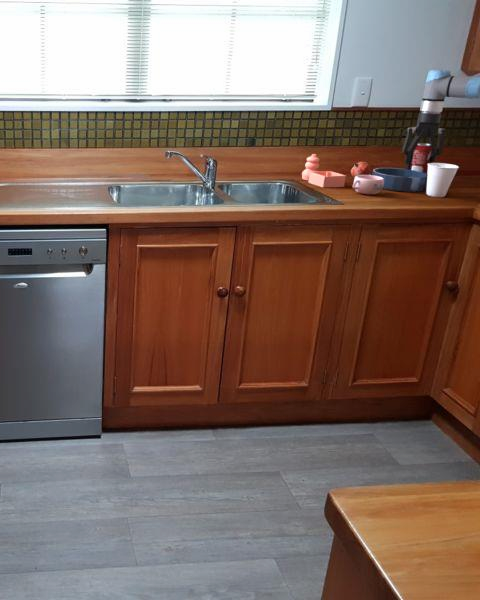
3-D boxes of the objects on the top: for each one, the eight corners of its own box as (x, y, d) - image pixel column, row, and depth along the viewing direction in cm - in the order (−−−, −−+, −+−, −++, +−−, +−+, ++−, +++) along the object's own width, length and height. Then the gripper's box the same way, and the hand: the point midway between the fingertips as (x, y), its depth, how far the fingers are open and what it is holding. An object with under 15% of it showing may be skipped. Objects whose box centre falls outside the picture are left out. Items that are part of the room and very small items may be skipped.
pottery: (343, 186, 232) (349, 160, 229) (322, 187, 230) (327, 161, 226) (315, 177, 248) (319, 152, 244) (295, 177, 246) (299, 153, 242)
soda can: (421, 177, 239) (428, 146, 234) (404, 174, 244) (410, 143, 239) (428, 175, 243) (435, 144, 239) (411, 172, 248) (417, 142, 243)
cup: (450, 200, 216) (458, 169, 211) (419, 196, 220) (426, 165, 216) (451, 195, 223) (459, 164, 219) (421, 191, 228) (428, 161, 224)
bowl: (415, 183, 242) (418, 169, 240) (432, 193, 224) (436, 179, 222) (364, 180, 245) (367, 166, 242) (377, 190, 227) (381, 176, 225)
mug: (366, 189, 229) (370, 173, 226) (387, 195, 220) (391, 179, 218) (341, 191, 225) (344, 175, 222) (361, 197, 216) (365, 181, 214)
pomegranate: (358, 182, 250) (342, 167, 247) (372, 169, 247) (357, 153, 244) (365, 188, 244) (349, 173, 241) (380, 174, 241) (364, 159, 238)
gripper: (454, 112, 236) (439, 171, 245) (400, 110, 239) (388, 169, 248) (461, 114, 229) (447, 175, 238) (406, 112, 232) (393, 172, 241)
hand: (417, 172), depth 243 cm, fingers closed on soda can, 7 cm apart
